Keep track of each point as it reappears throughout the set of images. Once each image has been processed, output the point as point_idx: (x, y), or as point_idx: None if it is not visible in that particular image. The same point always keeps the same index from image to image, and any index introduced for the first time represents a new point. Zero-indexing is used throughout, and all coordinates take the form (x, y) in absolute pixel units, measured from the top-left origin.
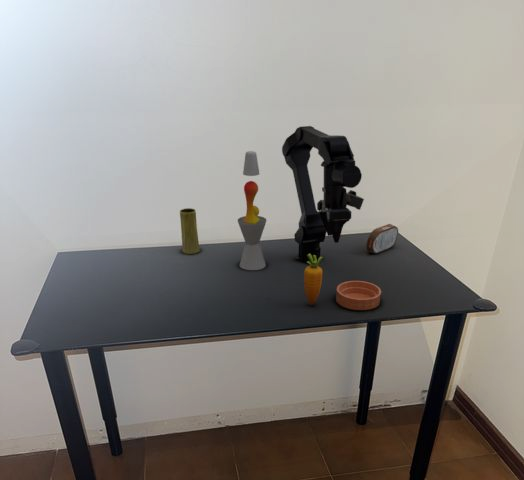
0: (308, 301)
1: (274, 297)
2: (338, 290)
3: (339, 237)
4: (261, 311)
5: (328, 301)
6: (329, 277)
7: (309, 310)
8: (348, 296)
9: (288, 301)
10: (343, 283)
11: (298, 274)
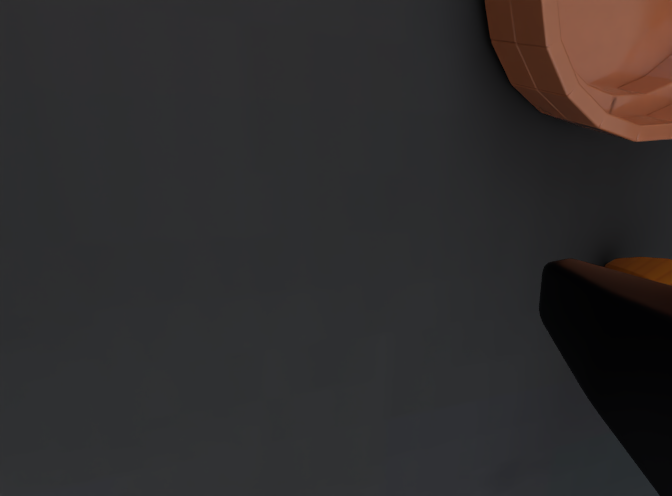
0: None
1: (492, 454)
2: (669, 129)
3: (661, 288)
4: (609, 467)
5: (582, 171)
6: (192, 156)
7: None
8: (564, 26)
9: (544, 384)
10: (575, 78)
11: (154, 400)
